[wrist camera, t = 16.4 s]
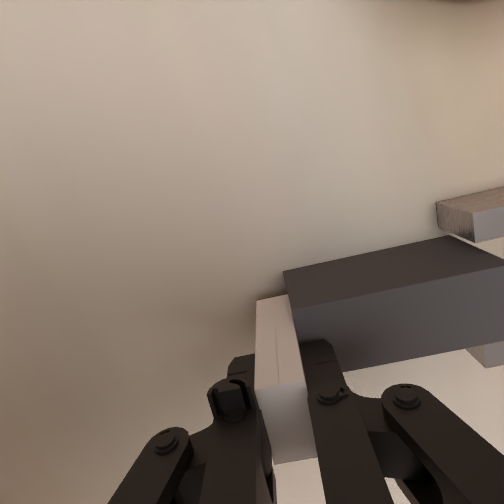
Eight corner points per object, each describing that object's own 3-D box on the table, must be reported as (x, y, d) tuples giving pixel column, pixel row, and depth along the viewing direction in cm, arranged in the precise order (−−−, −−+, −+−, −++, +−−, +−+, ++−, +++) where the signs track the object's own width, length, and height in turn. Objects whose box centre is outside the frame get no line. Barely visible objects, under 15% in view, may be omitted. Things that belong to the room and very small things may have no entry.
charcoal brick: (295, 326, 19) (306, 379, 14) (282, 271, 18) (291, 310, 14) (454, 293, 18) (517, 338, 14) (449, 235, 17) (513, 263, 13)
